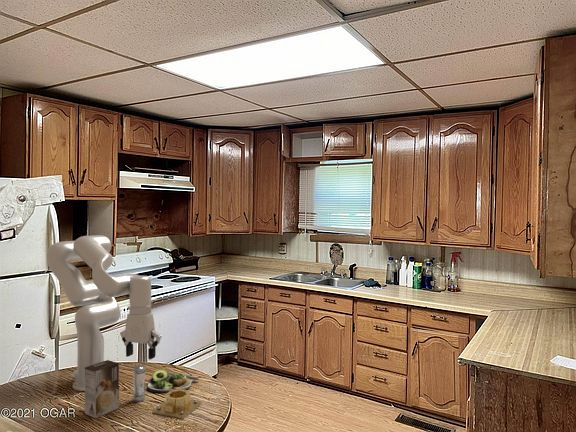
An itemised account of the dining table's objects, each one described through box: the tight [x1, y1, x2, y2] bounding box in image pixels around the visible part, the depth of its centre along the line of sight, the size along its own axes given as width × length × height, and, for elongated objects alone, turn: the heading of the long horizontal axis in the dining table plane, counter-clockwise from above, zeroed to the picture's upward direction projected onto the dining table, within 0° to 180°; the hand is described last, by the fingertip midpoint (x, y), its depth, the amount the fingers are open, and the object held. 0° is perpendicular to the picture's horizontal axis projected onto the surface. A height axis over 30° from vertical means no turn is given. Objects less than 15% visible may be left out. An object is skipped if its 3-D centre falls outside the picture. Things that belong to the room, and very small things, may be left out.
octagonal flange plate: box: [152, 388, 202, 420], centre depth 153 cm, size 12×12×5 cm
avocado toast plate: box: [146, 368, 200, 394], centre depth 174 cm, size 19×18×5 cm
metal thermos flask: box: [132, 364, 146, 403], centre depth 159 cm, size 4×4×12 cm
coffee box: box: [84, 359, 120, 419], centre depth 150 cm, size 9×6×16 cm
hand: (140, 356), depth 159 cm, fingers open, 9 cm apart
